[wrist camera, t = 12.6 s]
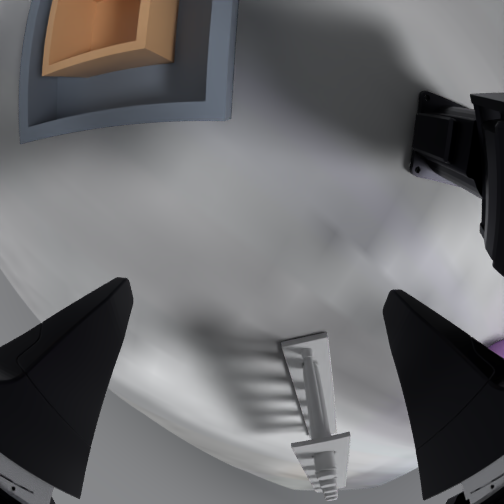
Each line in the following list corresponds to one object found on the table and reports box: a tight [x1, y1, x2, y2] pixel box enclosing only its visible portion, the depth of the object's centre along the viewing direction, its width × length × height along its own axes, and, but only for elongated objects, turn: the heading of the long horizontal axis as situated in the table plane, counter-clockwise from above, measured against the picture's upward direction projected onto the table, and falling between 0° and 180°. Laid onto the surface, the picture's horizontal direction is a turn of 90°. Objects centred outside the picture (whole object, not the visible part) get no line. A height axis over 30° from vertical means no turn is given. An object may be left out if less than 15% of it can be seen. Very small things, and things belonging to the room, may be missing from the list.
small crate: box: [42, 0, 180, 78], centre depth 10 cm, size 6×6×5 cm
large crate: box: [19, 0, 239, 144], centre depth 11 cm, size 14×14×4 cm
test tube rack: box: [281, 332, 350, 501], centre depth 25 cm, size 25×4×13 cm, turn 15°
